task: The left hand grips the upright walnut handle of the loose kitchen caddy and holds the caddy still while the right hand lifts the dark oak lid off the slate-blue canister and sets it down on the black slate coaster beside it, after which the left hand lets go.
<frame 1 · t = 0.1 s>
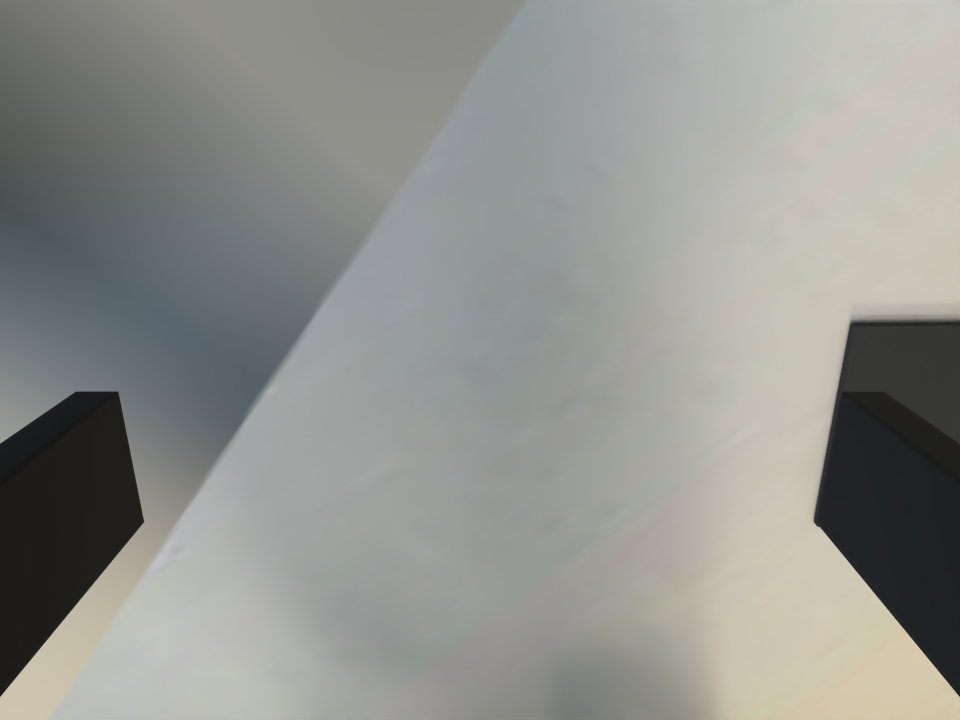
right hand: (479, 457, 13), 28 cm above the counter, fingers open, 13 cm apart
coaster: (940, 427, 43), on the counter
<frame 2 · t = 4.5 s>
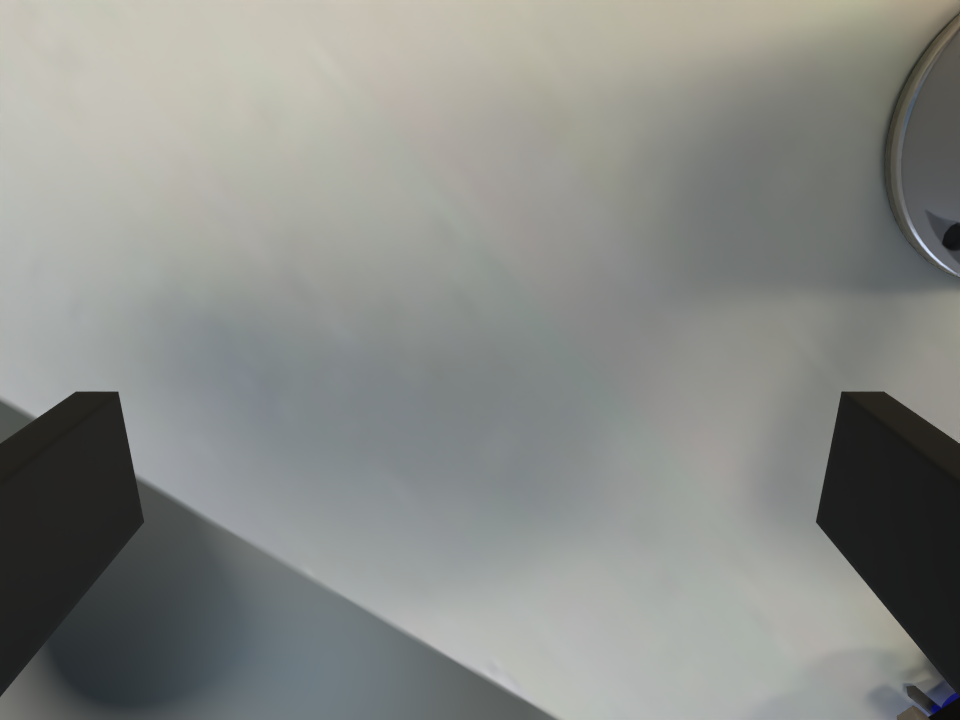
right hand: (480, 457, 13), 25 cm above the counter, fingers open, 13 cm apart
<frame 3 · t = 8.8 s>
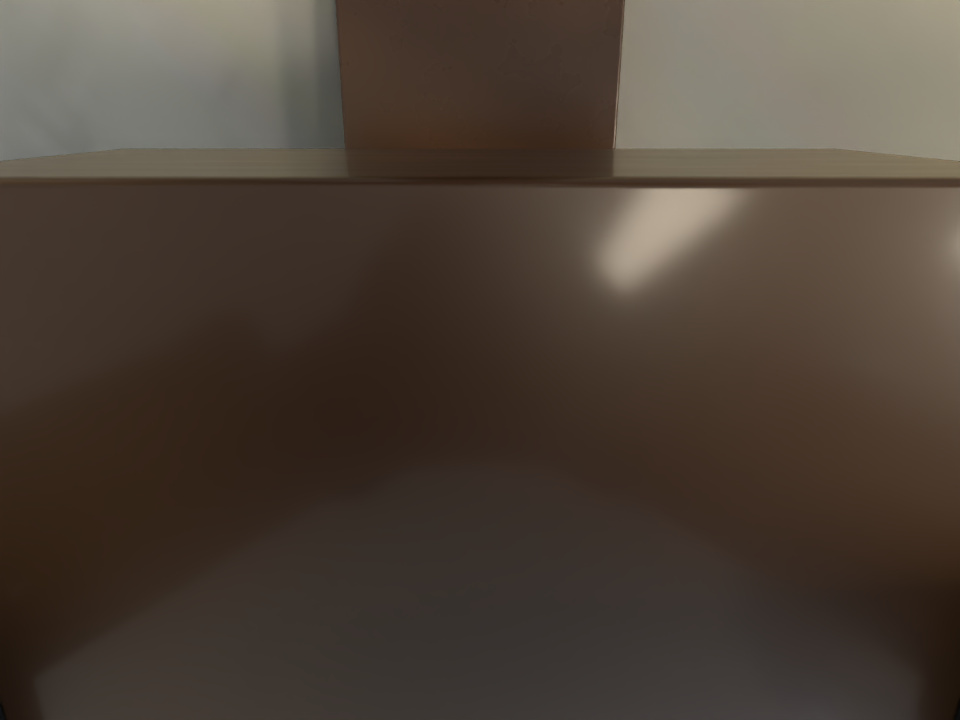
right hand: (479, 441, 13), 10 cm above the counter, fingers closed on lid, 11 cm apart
caddy: (480, 2, 20), on the counter, touching left hand, lid
lid: (479, 465, 12), point 11 cm above the counter, touching caddy, right hand
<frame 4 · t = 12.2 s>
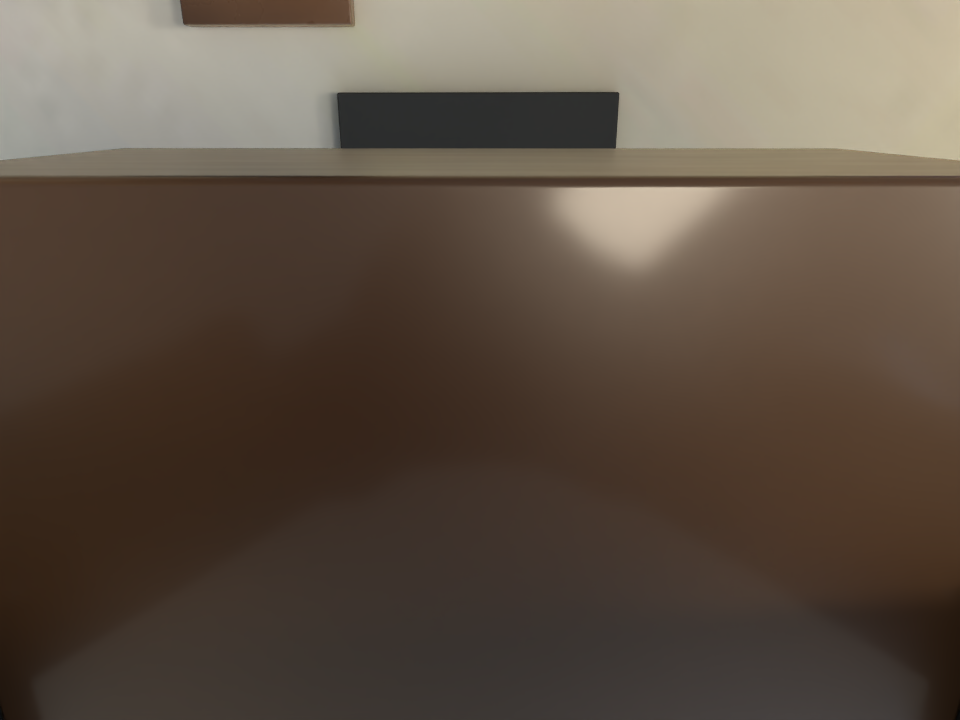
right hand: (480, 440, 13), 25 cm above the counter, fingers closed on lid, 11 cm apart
lid: (479, 465, 12), point 26 cm above the counter, touching right hand
coaster: (478, 232, 37), on the counter
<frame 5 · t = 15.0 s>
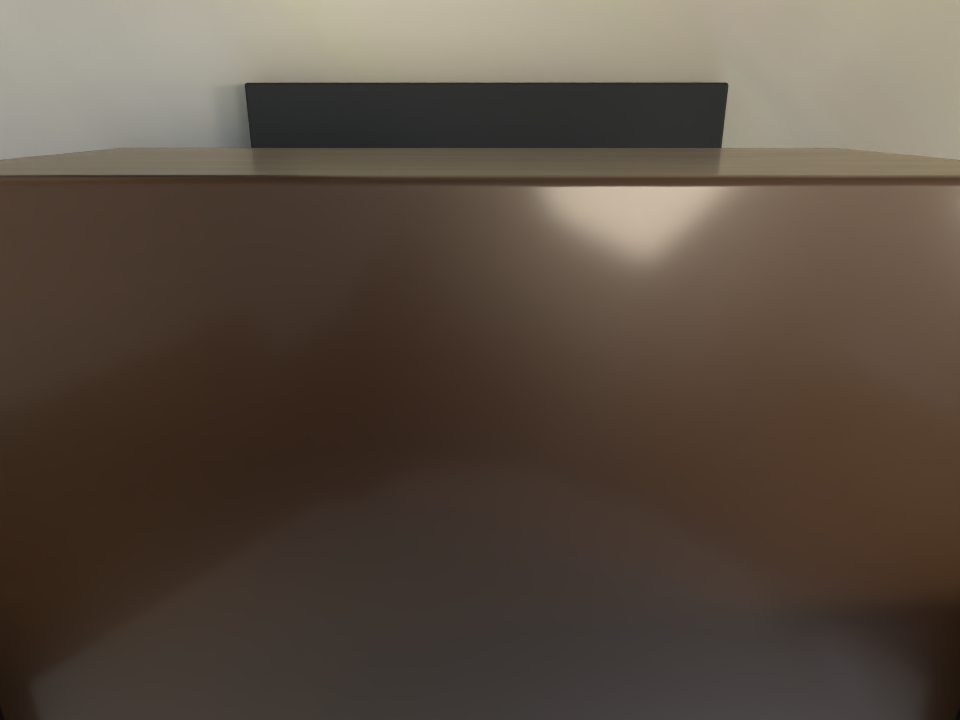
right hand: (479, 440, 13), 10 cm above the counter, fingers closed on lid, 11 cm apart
lid: (479, 465, 12), point 11 cm above the counter, touching right hand
coaster: (485, 311, 22), on the counter
when the right hand's fingers open (3 cm above the counter, at t = 17.2 s): lid drops 3 cm, resting on coaster.
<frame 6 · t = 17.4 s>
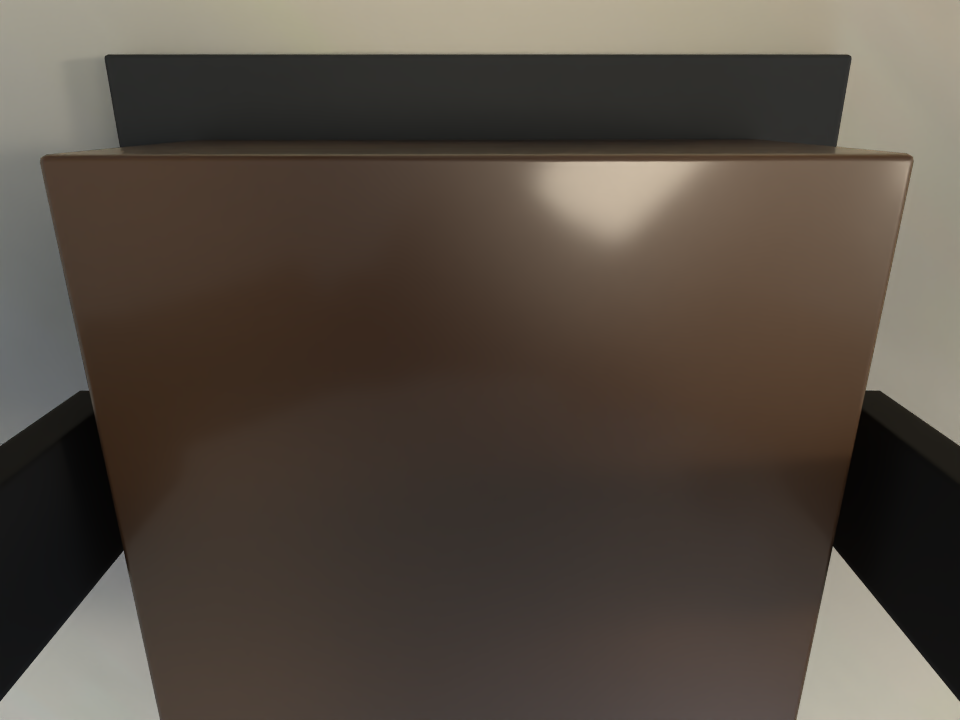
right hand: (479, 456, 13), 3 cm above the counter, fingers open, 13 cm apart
lid: (478, 400, 15), point 1 cm above the counter, touching coaster
coaster: (478, 389, 16), on the counter
when the left hand's fingers open (3 cm above the counter, at t = 20.3 s): caddy stays where it is, on the counter.
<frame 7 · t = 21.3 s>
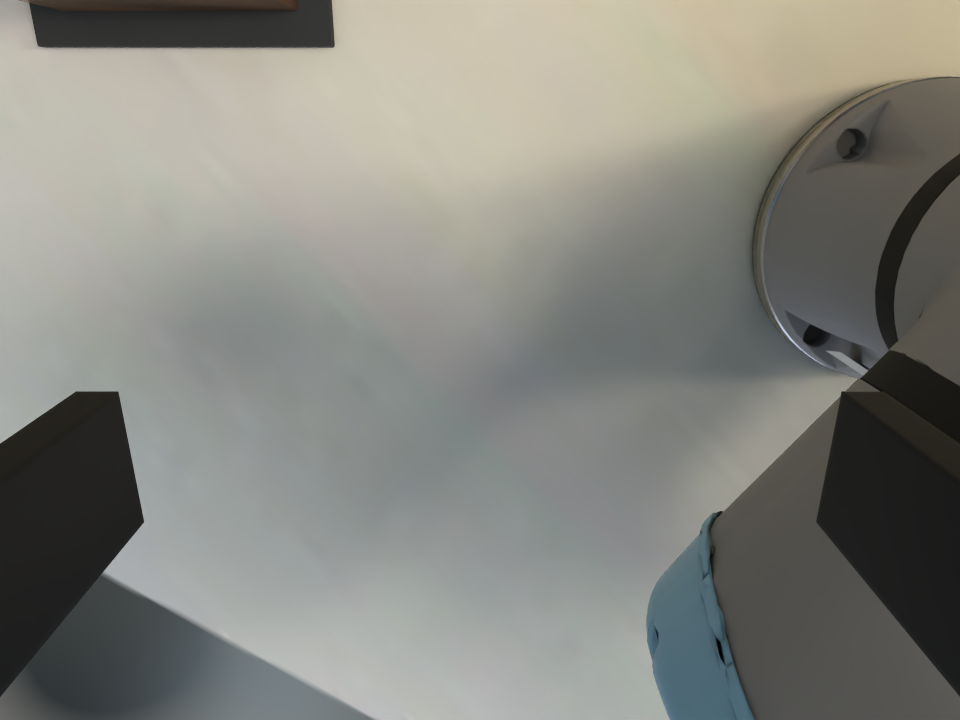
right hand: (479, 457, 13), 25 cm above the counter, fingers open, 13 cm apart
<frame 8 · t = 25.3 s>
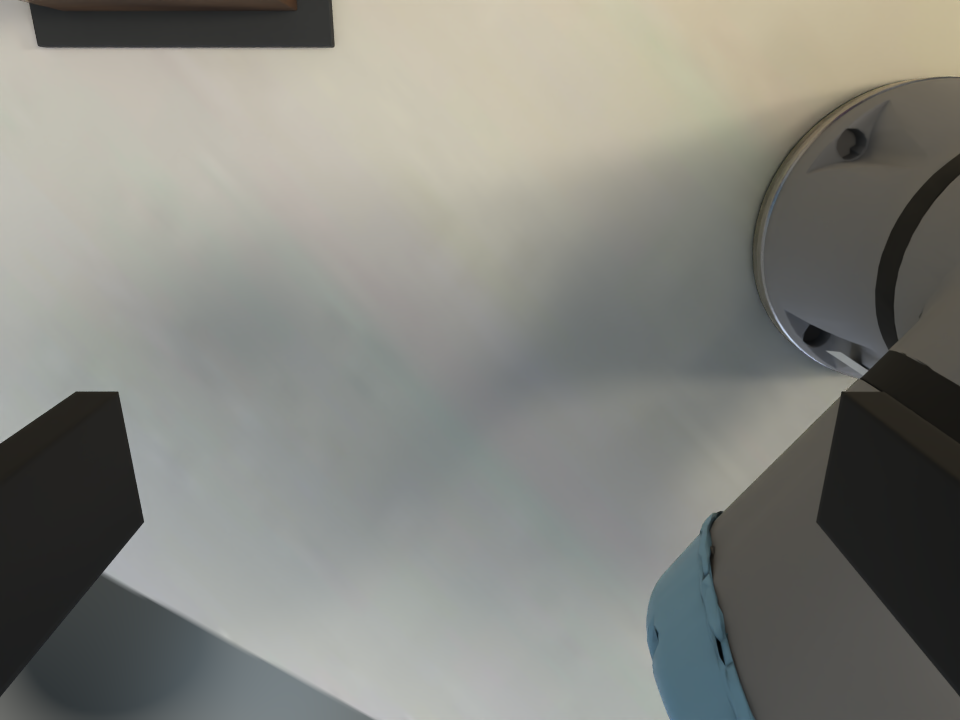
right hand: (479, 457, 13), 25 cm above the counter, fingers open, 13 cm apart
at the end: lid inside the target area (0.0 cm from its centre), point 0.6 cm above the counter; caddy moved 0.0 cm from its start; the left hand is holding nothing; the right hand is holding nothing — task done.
